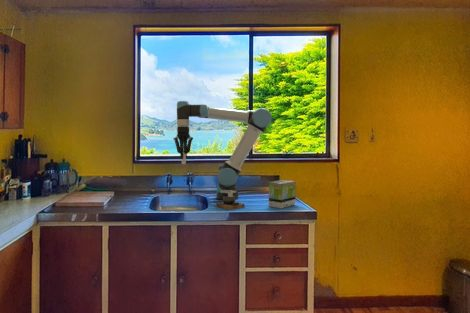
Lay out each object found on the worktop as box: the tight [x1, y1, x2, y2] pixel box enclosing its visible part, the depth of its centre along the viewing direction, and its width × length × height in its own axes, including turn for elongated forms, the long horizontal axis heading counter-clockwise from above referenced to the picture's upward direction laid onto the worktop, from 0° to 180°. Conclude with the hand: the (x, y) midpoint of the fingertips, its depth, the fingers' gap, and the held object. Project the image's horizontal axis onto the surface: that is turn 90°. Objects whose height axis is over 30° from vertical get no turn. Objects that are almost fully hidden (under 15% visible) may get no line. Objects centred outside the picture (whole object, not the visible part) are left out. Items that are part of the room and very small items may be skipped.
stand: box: [215, 200, 246, 211], centre depth 207 cm, size 12×12×4 cm
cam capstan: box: [216, 186, 236, 204], centre depth 209 cm, size 12×7×8 cm, turn 57°
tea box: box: [268, 179, 297, 209], centre depth 210 cm, size 15×10×15 cm
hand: (183, 163), depth 220 cm, fingers closed
